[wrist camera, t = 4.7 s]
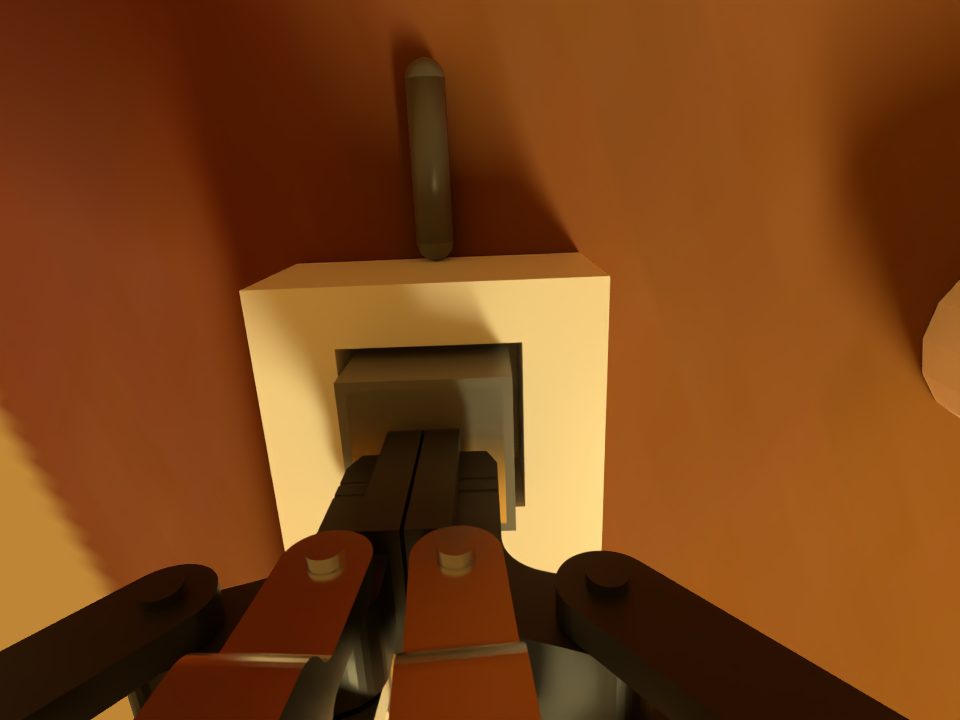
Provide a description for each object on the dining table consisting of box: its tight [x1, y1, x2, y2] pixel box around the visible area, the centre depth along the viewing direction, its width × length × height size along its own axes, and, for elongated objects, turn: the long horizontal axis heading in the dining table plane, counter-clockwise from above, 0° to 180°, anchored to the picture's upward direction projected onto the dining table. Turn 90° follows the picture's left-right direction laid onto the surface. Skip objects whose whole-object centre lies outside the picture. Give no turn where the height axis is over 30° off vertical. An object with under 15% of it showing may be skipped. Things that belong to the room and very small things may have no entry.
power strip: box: [239, 57, 610, 720], centre depth 16 cm, size 25×8×4 cm, turn 2°
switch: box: [334, 343, 516, 531], centre depth 13 cm, size 4×4×2 cm
